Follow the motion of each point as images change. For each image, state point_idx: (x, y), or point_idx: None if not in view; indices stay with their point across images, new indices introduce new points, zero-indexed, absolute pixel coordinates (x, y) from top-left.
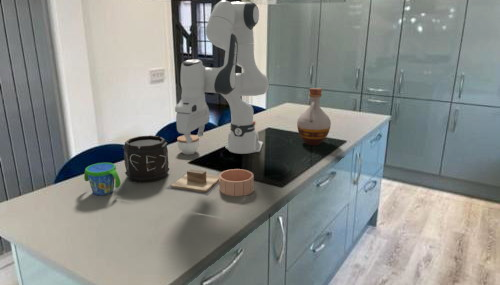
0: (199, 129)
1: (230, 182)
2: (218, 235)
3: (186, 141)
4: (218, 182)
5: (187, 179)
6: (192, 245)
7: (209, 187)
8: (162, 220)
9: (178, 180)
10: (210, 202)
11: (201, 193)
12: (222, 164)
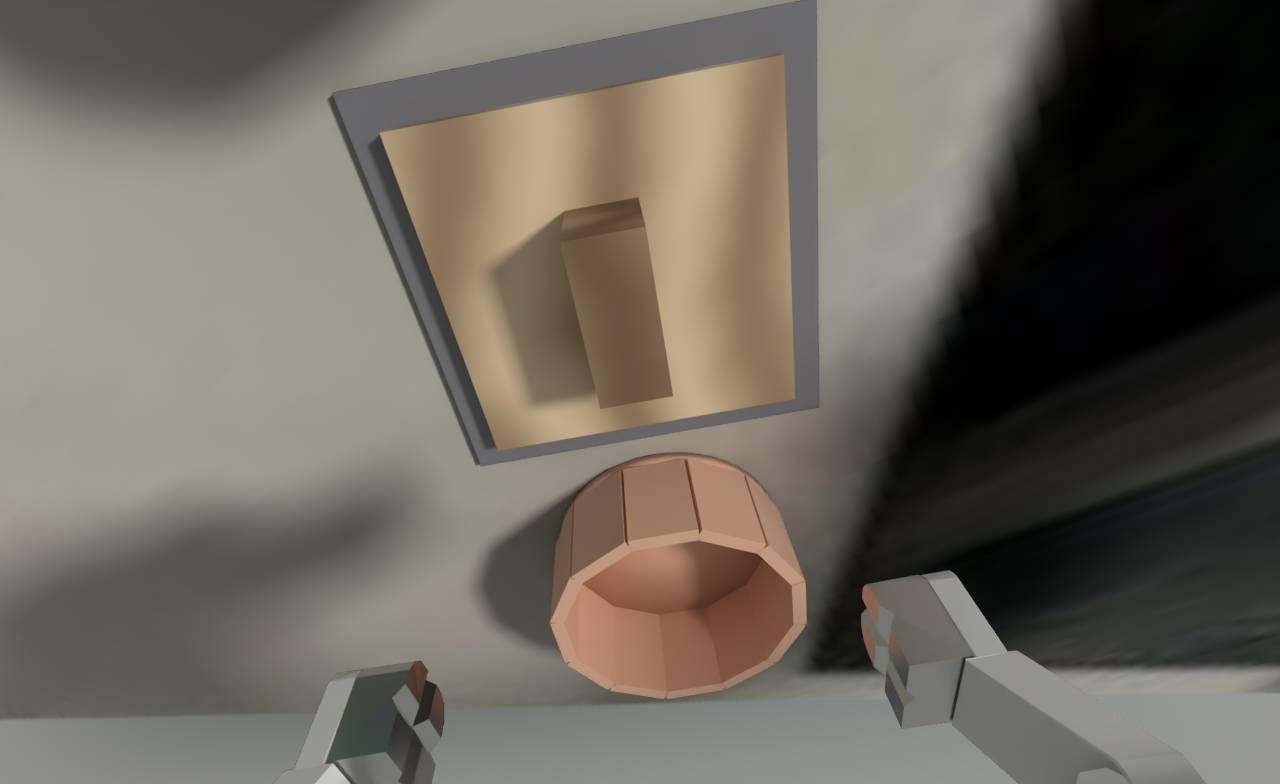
0: (1017, 713)
1: (559, 641)
2: (208, 689)
3: (327, 694)
4: None
5: (564, 217)
6: (55, 664)
7: (563, 437)
8: (21, 442)
9: (516, 122)
10: (424, 517)
11: (473, 422)
12: (1146, 193)
